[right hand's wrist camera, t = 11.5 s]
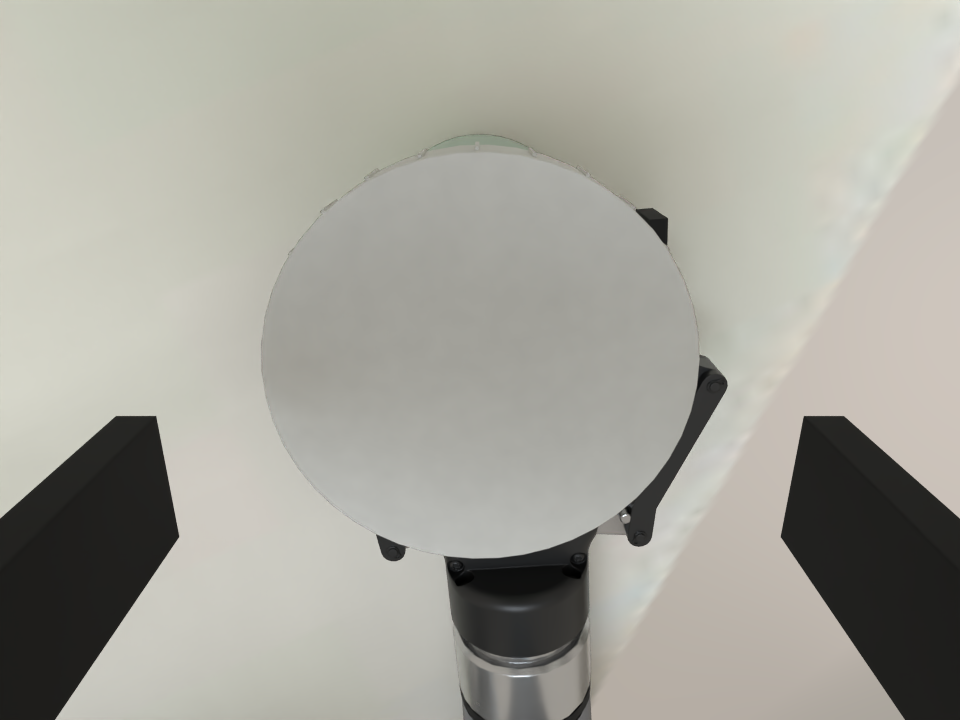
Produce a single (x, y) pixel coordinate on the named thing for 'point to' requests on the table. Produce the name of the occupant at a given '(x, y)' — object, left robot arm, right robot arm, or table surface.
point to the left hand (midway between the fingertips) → (494, 224)
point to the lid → (480, 352)
